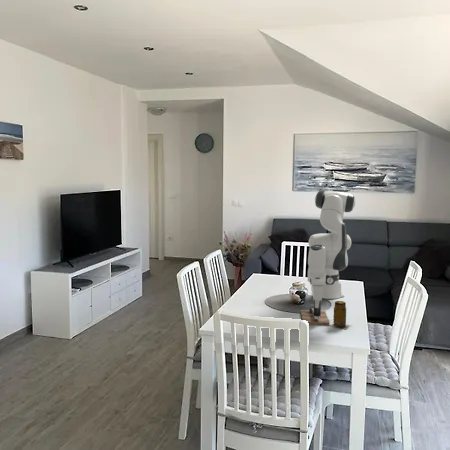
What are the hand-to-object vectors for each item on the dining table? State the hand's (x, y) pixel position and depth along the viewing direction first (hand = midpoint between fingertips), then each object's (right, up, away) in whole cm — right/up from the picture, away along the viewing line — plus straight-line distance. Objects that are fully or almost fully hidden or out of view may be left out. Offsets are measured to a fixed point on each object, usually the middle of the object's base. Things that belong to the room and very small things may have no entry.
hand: (315, 304), depth 229 cm
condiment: (+12, -10, -2) cm, 16 cm away
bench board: (+1, -9, +9) cm, 12 cm away
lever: (+1, -7, +8) cm, 11 cm away
